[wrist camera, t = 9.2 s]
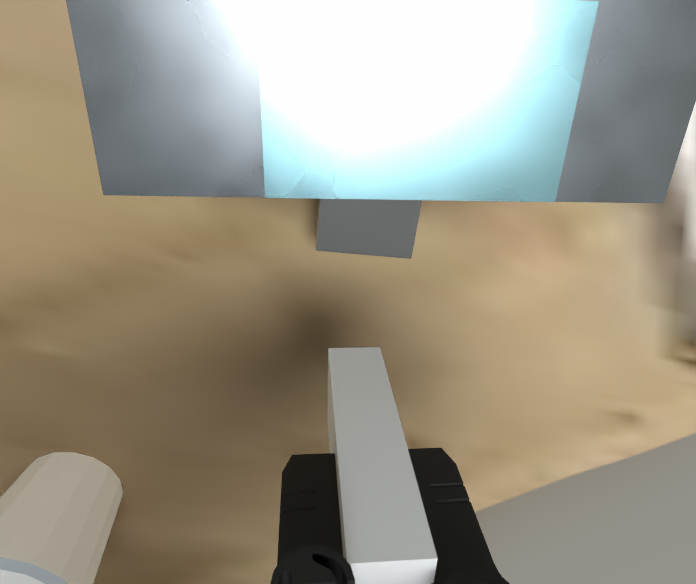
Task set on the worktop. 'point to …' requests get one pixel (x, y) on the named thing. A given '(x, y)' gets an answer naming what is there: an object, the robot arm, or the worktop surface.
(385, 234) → the plug
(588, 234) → the worktop surface
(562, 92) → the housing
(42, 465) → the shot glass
